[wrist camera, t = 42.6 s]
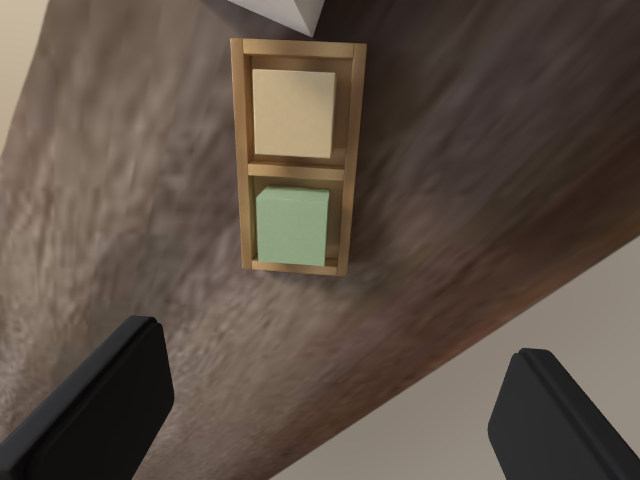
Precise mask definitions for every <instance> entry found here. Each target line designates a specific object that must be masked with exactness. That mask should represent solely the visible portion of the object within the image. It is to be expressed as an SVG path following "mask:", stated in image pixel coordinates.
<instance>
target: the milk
mask: <svg viewBox="0 0 640 480" xmlns="http://www.w3.org/2000/svg"><path fill="white" fill-rule="evenodd" d="M228 1H230V2H232V3H234V4H237V5H239V6H241V7H244V8H246V9H248V10H250V11H253V12H255V13H257V14H259V15H262V16H264V17H266V18H269V19H271V20H273V21H275V22H278V23H280V24H282V25H284V26H287V27H289V28H291V29H293V30H296V31H298V32H300V33H303V34H305V35H307V36H309V37H312V38H313V35H314V32H315V29H316V26H317V23H318V19H319V16H320V13H321V10H322V7H323V4H324V1H325V0H228Z"/></svg>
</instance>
